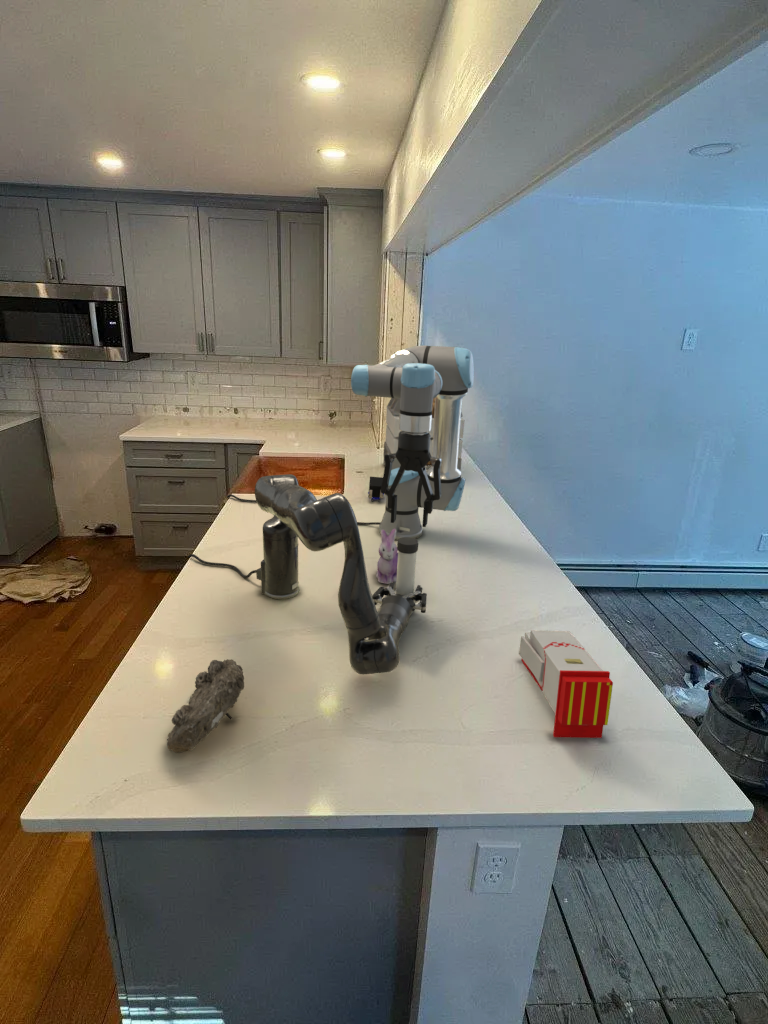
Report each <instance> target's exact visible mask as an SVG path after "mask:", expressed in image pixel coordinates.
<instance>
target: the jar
mask: <svg viewBox="0 0 768 1024" xmlns="http://www.w3.org/2000/svg"><path fill="white" fill-rule="evenodd" d="M416 564H417V552H415V553H412V554H406V553H401V552H399V551H398V562H397V580H396V589H395V594H400V595H407V594H409V593H411V592H412V593H414V592H415V578H416Z"/></svg>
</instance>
